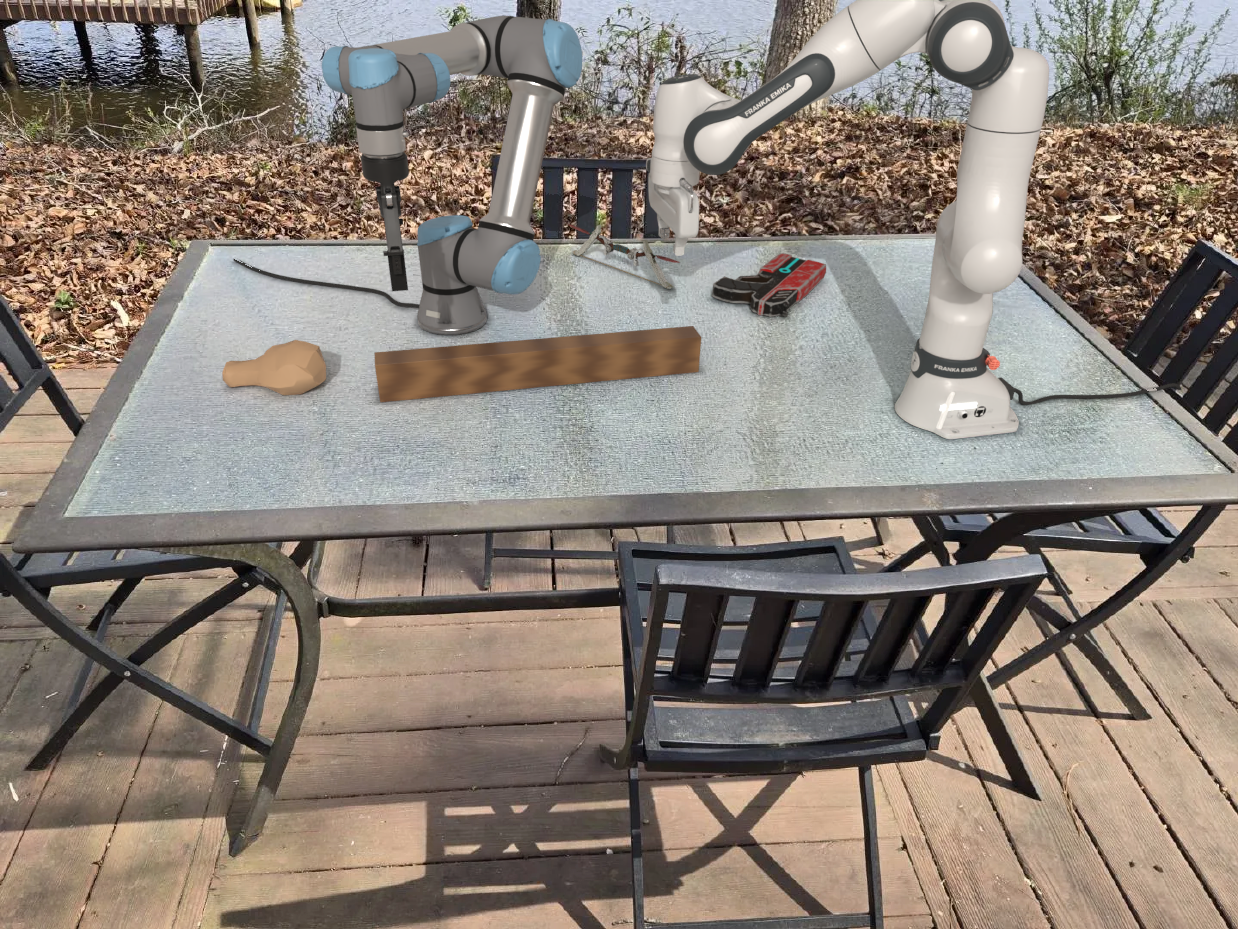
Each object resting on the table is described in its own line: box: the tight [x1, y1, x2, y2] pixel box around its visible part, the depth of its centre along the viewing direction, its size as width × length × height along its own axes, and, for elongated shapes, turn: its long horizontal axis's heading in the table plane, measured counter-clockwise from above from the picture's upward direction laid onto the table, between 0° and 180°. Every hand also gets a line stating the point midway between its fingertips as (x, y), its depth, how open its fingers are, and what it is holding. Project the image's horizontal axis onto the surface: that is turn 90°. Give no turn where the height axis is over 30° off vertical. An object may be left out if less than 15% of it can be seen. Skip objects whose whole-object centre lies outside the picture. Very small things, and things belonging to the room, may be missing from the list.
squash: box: [221, 339, 327, 396], centre depth 168 cm, size 11×20×9 cm, turn 90°
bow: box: [567, 223, 681, 290], centre depth 222 cm, size 39×2×10 cm, turn 47°
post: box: [373, 325, 702, 403], centre depth 173 cm, size 64×5×8 cm, turn 104°
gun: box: [711, 252, 827, 318], centre depth 215 cm, size 4×31×19 cm
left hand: (398, 275), depth 156 cm, fingers open, 13 cm apart
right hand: (671, 245), depth 166 cm, fingers open, 8 cm apart
